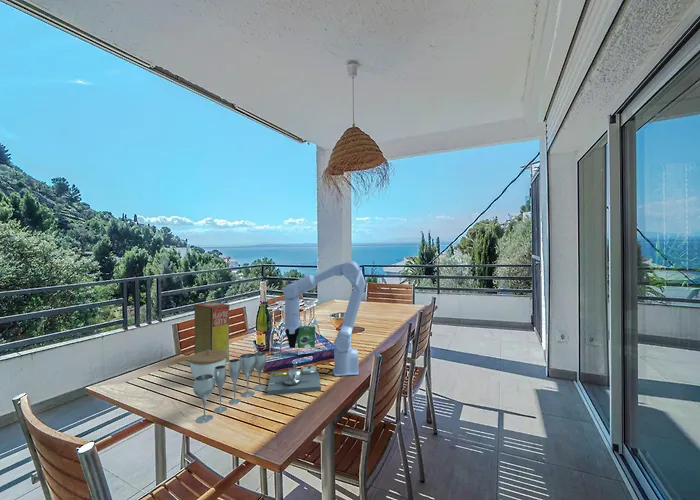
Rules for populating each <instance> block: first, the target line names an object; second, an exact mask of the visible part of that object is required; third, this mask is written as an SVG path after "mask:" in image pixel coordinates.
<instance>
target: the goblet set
mask: <svg viewBox="0 0 700 500" xmlns="http://www.w3.org/2000/svg"><path fill="white" fill-rule="evenodd" d="M266 363H267V353H266V352H264V351H259V352H253V353H252V352H251V353H244V354H241V355H240V356H239V358H233V359H229V362H228V375H229V377H230V379H231V381H232V385H233V393H234V394H233V398H232V399H230V400H229V401H228V404H229V405H230V406H231V405H233V406H235V405H238V404H240V403H241V402H242V399H241V398H246V399H247V398H252V397H253V396H255V395H256V392H255V391H262V390H264V389H266V388H267V386H266V385H265V384H261V375H262V371H263V369H264V368H265V366H266ZM254 370H256V372H257V375H258V384H256V385H255V386H253V388H252V389H253V390H255V391H253V390H249V379H250V376H251V375H252V373H253V371H254ZM240 373H242V374H243V375H244V377H245V378H246V391H244V392H242V393H240V397H241V398H236V385H237V381H238V379H239V376H240V375H241V374H240ZM226 380H227V367H226V366H223V365H221V366H217V367H215V370H214V377H213V375H211V374H205V375H200V376H198V377H196V378H194V381H193V386H192V390H193V393H194V395H196V397H198V398H199V399H201V401H202V405H203V415H201V416H198V417H197V418H196V419H195V423H196V424H205V423H206V424H207V423H209V422H210V421H212V420H213V419H214V416H213V415H212V414H206V402H207V399H208V397H209V396H210V395H211V394H212V393H213V392H214V390H215V388H216V387H217V389H218V393H219V394H218V395H219V406H218V407H216V408H215V409H213V413H214V414H222V413H225V412H227V410H228V407H226V406H222V391H223V389H224V388H223V387H224V385H225V382H226Z"/></svg>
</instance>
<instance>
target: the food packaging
mask: <svg viewBox="0 0 700 500" xmlns="http://www.w3.org/2000/svg"><path fill="white" fill-rule="evenodd" d="M207 350H221V351H225V352H226V354H227V355H226V363H229V361H230V304H226V303H222V302H215V301H209V302H201V303H195V304H194V354H196V353H199V352H203V351H207ZM194 354H193V355H194Z"/></svg>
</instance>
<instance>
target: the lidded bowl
mask: <svg viewBox="0 0 700 500" xmlns="http://www.w3.org/2000/svg"><path fill="white" fill-rule="evenodd" d="M226 355H227V354H226V352H225V351H221V350H207V351H203V352H199V353H196V354H192V355H191V356H189V367H190V373H191V375H192V377H193V378H194V379H195V378H196V377H198V376H200V375H205V374H211V375H213V377H214V370H215V367H217V366H221V365H223V366H225V367H226V365H227V362H226Z"/></svg>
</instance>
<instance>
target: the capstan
mask: <svg viewBox="0 0 700 500" xmlns="http://www.w3.org/2000/svg"><path fill="white" fill-rule="evenodd" d="M297 366H298V365H297V364H293V368H290V369H289V370H287V371H288V372H284V373H273V377H278V376H286V377H284V378H283V379H282V382H283V384H285V385H295V384H298V383H300V382H301V375H310V374H316V371H301V370H302V369H300V368H298V367H297Z"/></svg>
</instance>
